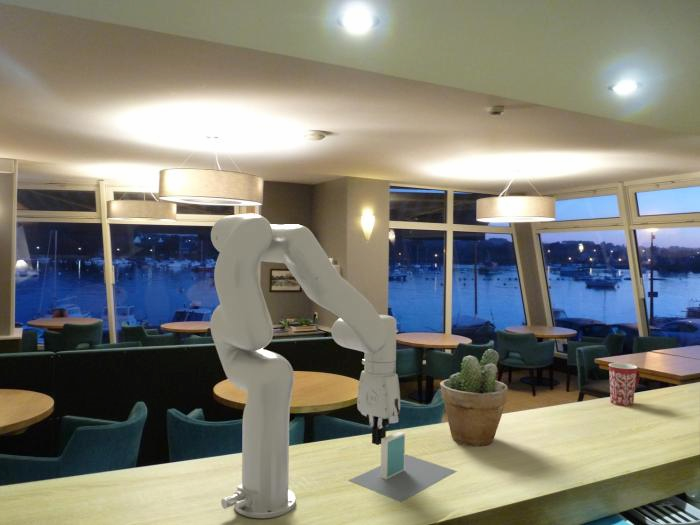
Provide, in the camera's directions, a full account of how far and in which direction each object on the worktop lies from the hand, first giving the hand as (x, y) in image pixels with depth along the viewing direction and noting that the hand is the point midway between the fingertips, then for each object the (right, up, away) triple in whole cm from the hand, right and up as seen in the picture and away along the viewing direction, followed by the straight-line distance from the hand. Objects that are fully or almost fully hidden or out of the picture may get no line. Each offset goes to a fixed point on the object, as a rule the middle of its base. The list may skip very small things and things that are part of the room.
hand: (378, 442), depth 131 cm
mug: (+91, -7, +62) cm, 110 cm away
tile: (+3, -6, -3) cm, 8 cm away
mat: (+6, -7, -4) cm, 10 cm away
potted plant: (+27, -7, +22) cm, 36 cm away
